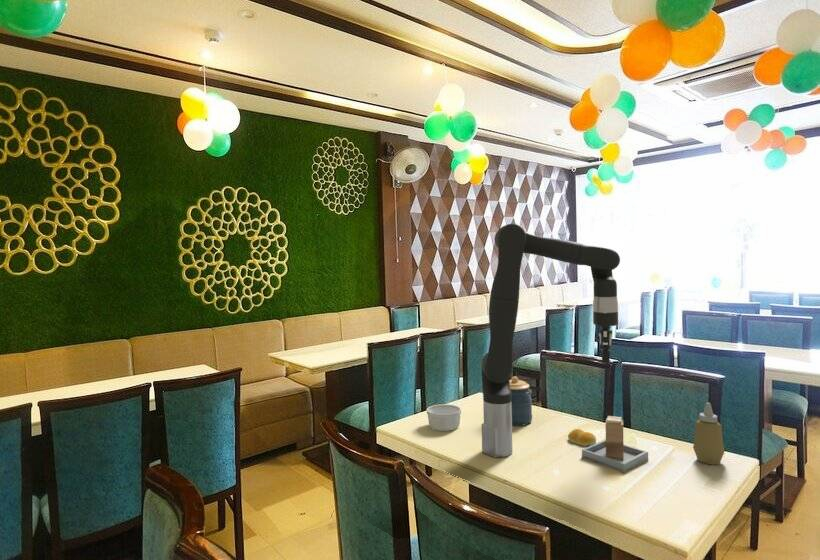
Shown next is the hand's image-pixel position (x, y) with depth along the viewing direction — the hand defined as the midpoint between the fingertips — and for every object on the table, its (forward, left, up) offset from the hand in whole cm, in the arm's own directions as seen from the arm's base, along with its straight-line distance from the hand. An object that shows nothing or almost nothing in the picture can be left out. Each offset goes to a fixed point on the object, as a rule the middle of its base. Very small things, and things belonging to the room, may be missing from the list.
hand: (606, 359), depth 153 cm
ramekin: (-26, +52, -30) cm, 66 cm away
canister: (0, +39, -30) cm, 49 cm away
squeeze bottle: (+16, -24, -30) cm, 42 cm away
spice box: (-4, -5, -29) cm, 30 cm away
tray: (-4, -5, -30) cm, 31 cm away
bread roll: (+1, +10, -31) cm, 32 cm away
